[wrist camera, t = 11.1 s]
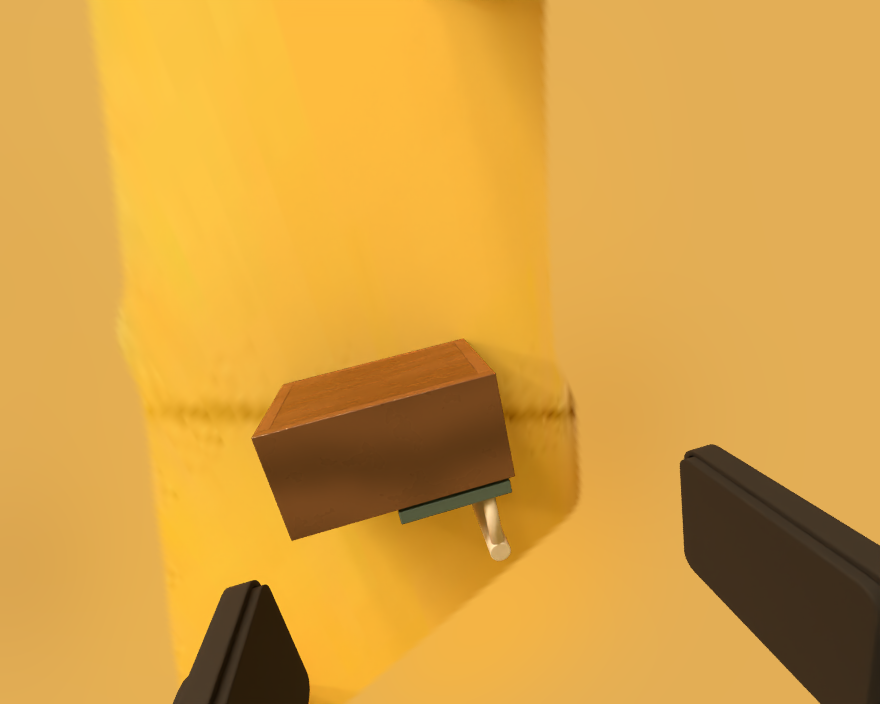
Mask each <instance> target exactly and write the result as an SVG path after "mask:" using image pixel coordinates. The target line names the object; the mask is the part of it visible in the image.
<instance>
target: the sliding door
mask: <svg viewBox="0 0 880 704" xmlns="http://www.w3.org/2000/svg"><path fill="white" fill-rule="evenodd" d="M511 492H512V489H511V484H510V480H509V478H507V479H503V480H500V481H496V482H493V483H489V484H486V485H482V486H479V487H476V488H472V489H469V490H465V491H462V492H458V493H455V494H451V495H448V496H445V497H441V498H438V499H434V500H431V501H427V502H424V503H420V504H417V505H413V506H410V507H407V508H403V509H400V510H398V512H399V516H400V520H401V523H402V524H405V523H409V522H412V521H416V520H419V519H422V518H426V517H429V516H433V515H436V514H439V513H443V512H446V511H450V510H453V509H457V508H460V507H463V506H467V505H470V504H472V507H473V510H474V512H475V515H476V517H477V520H478V523H479V525H480V528H481V531H482V533H483V536H484V539H485V541H486V544H487V547H488V549H489V552H490V555H491V557H492V558H493V559H494V560H497V561H502V560H505V559H506V558H507V557H508V556H509V555H510V553H511V548H510V546H509V543H508V541H507V539H506V537H505V535H504V532H503V530H502V528H501V523H500V518H499V514H498V509H497V504H496V499H495V497H497V496H501V495H504V494H508V493H511Z"/></svg>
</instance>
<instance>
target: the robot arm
mask: <svg viewBox="0 0 880 704" xmlns="http://www.w3.org/2000/svg"><path fill="white" fill-rule="evenodd" d="M680 476H681V477H680V478H681V495H682V515H683V534H684V552H685V556H686V559H687V561H688V563H689V565H690V567H691V568H692V569H693V570H694V572H695V573H696V574H697V575H698V576H699V577H700V578H701V579H702V580H703V581H704V582H705V583H706V584H707V585H708V586H709V587H710V588H711V589H712V590H713V591H714V593H715V594H716V595H717V596H718V597H719V598H720V599H721V600H722V601H723V602H724V603H725V604H726V605H727V606H728V607H729V608H730V609H731V610H732V611H733V613H734V614H735V615H736V616H737V617H738V618H739V619H740V620H741V621H742V622H743V623H744V624H745V625H746V626H747V627H748V628H749V629H750V630H751V631H752V632H753V633H754V634H755V636H756V637H758V639H759V640H760V641H761V642H762V643H763V644H764V645H765V646H766V647H767V648H768V649H769V650H770V651H771V652H772V653H773V654H774V655H775V656H776V657H777V658H778V660H780V662H781V663H782V664H783V665H784V666H785V667H786V668H787V669H788V670H789V671H790V672H791V673H792V674H793V675H794V676H795V677H796V678H797V680H799V682H800V683H801V684H802V685H803V686H804V687H805V688H806V689H807V690H808V691H809V692H810V693H811V694H812V695H813V696H814V697H815V698H816V699H817V700H818V701H819V702H820V704H880V546H879V545H878V544H876V543H875V542H873V541H871V540H870V539H868V538H866V537H865V536H863V535H862V534H860V533H858V532H857V531H855V530H853V529H852V528H850V527H849V526H847V525H845V524H844V523H842V522H840V521H839V520H837V519H836V518H834V517H832V516H831V515H829V514H827V513H826V512H824V511H823V510H821V509H819V508H818V507H816V506H814V505H813V504H811V503H809V502H808V501H806V500H805V499H803V498H801V497H800V496H798V495H797V494H795V493H793V492H791V491H790V490H788V489H787V488H785V487H784V486H782V485H780V484H779V483H777V482H775V481H774V480H772V479H770V478H769V477H767V476H766V475H764V474H762V473H761V472H759V471H757V470H756V469H754V468H753V467H751V466H749V465H748V464H746V463H745V462H743V461H741V460H740V459H738V458H736V457H735V456H733V455H731V454H730V453H728V452H727V451H725V450H723V449H722V448H720V447H718V446H716V445H711V444H710V445H707V446H704V447H700V448H697V449H693V450H690V451H688V452H686V454H685V456H684V460H682V461H681V462H680ZM309 692H310V686H309V678H308V674H307V672H306V669H305V667H304V665H303V663H302V660H301V658H300V656H299V653H298V651H297V649H296V647H295V644H294V642H293V640H292V638H291V635H290V633H289V631H288V628H287V626H286V624H285V622H284V619H283V617H282V615H281V613H280V610H279V608H278V606H277V603H276V601H275V599H274V597H273V594H272V592H271V590H270V588H269V586H268V585H262V586H261V585H260V583H259V582H258V581H257V580H253V581H249V582H246V583H243V584H239V585H236V586H232V587H229V588H227V589H226V590H225V591H224V592H223V594H222V596H221V599H220V601H219V603H218V606H217V608H216V611H215V613H214V616H213V618H212V620H211V623H210V625H209V628H208V630H207V633H206V635H205V637H204V640H203V642H202V645H201V647H200V650H199V652H198V654H197V657H196V659H195V662H194V664H193V667H192V669H191V671H190V674H189V676H188V677H187V678H186V679H185V680H184V681H183V683H182V685H181V687H180V688H179V690H178V692H177V695H176V697H175V699H174V702H173V704H308V702H309Z"/></svg>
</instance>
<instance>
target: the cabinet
mask: <svg viewBox="0 0 880 704" xmlns="http://www.w3.org/2000/svg"><path fill="white" fill-rule="evenodd" d="M251 439H252V441H253V444H254V446H255V449H256V451H257V454H258V457H259V459H260V462H261V464H262V467H263V469H264V472H265V474H266V477H267V479H268V482H269V485H270V487H271V490H272V492H273V495H274V497H275V500H276V502H277V505H278V507H279V510H280V513H281V515H282V518H283V520H284V523H285V525H286V528H287V530H288V533H289V535H290V538H291V540H292V541H293V540H296V539H300V538H303V537H307V536H310V535H313V534H317V533H320V532H324V531H327V530H331V529H334V528H338V527H341V526H345V525H348V524H351V523H355V522H358V521H362V520H365V519H369V518H372V517H376V516H379V515H382V514H386V513H389V512H393V511H396V510H400V509H403V508H407V507H410V506H413V505H417V504H420V503H424V502H427V501H431V500H434V499H438V498H441V497H445V496H448V495H451V494H455V493H458V492H462V491H465V490H469V489H472V488H476V487H479V486H482V485H486V484H489V483H493V482H496V481H500V480H503V479H507V478H510V477H513V476H515V473H514V468H513V463H512V457H511V452H510V447H509V442H508V436H507V431H506V426H505V421H504V415H503V410H502V405H501V399H500V394H499V389H498V384H497V378H496V374H495V372H494V371H493V370H492V369H491V368H490V367H489V366H488V365H487V364H486V363H485V362H484V361H483V359H482V358H481V357H480V356H479V355H478V354H477V353H476V352H475V351H474V350H473V348H472V347H471V346H470V345H469V344H468V343H467V342H466V341H465V340H464V339H460V340H456V341H452V342H448V343H444V344H440V345H436V346H432V347H428V348H425V349H421V350H417V351H413V352H409V353H405V354H401V355H397V356H393V357H389V358H385V359H382V360H378V361H374V362H370V363H366V364H362V365H358V366H354V367H350V368H346V369H342V370H339V371H335V372H331V373H327V374H323V375H319V376H315V377H311V378H307V379H303V380H299V381H296V382H292V383H288V384H284V385H283V386H282V387H281V389H280V391H279V392H278V394H277V396H276V397H275V399H274V401H273V403H272V404H271V406H270V408H269V409H268V411H267V413H266V414H265V416H264V418H263V419H262V421H261V423H260V424H259V426H258V428H257V430H256V431H255V433H254V435H253V436H252V438H251Z"/></svg>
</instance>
